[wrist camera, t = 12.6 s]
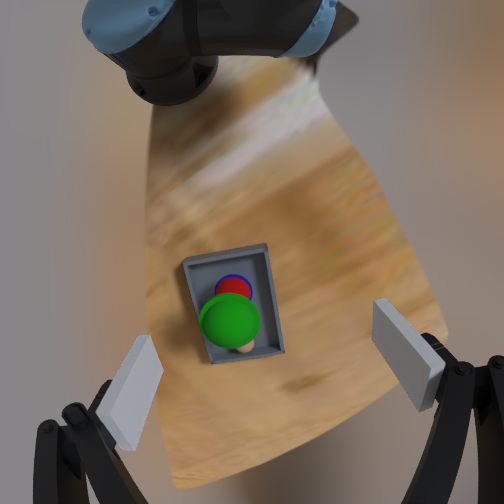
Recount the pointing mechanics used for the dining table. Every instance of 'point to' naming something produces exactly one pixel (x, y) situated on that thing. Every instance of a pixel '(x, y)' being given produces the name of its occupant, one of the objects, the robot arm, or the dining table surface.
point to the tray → (260, 277)
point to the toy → (230, 313)
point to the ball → (246, 347)
